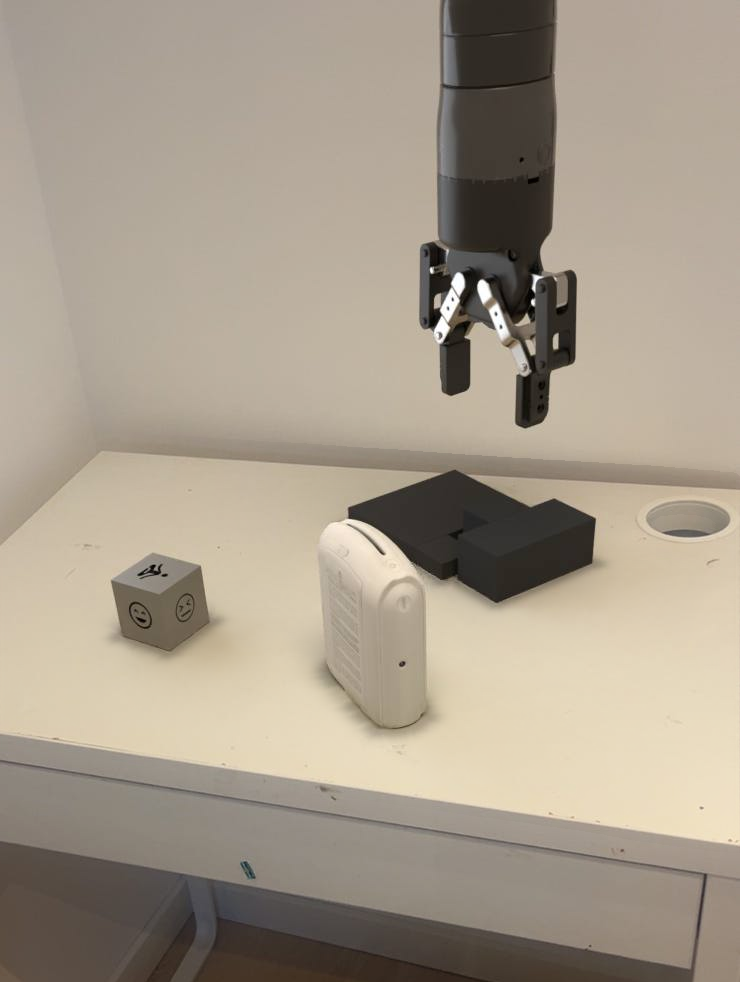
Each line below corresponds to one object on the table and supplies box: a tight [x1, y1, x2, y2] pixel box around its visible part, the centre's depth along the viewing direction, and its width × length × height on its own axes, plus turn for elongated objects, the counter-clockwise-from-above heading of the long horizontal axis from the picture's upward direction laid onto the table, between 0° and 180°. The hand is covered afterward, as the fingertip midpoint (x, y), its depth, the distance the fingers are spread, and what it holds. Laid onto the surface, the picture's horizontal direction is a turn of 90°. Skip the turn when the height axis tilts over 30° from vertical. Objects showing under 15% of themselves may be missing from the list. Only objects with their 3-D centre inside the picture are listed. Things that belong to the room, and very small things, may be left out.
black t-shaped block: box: [457, 496, 597, 603], centre depth 95 cm, size 10×8×4 cm
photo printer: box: [317, 518, 428, 729], centre depth 80 cm, size 10×4×12 cm, turn 23°
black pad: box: [347, 469, 531, 581], centre depth 102 cm, size 12×14×2 cm
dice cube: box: [110, 552, 210, 652], centre depth 92 cm, size 5×5×5 cm
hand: (492, 408), depth 85 cm, fingers open, 8 cm apart
